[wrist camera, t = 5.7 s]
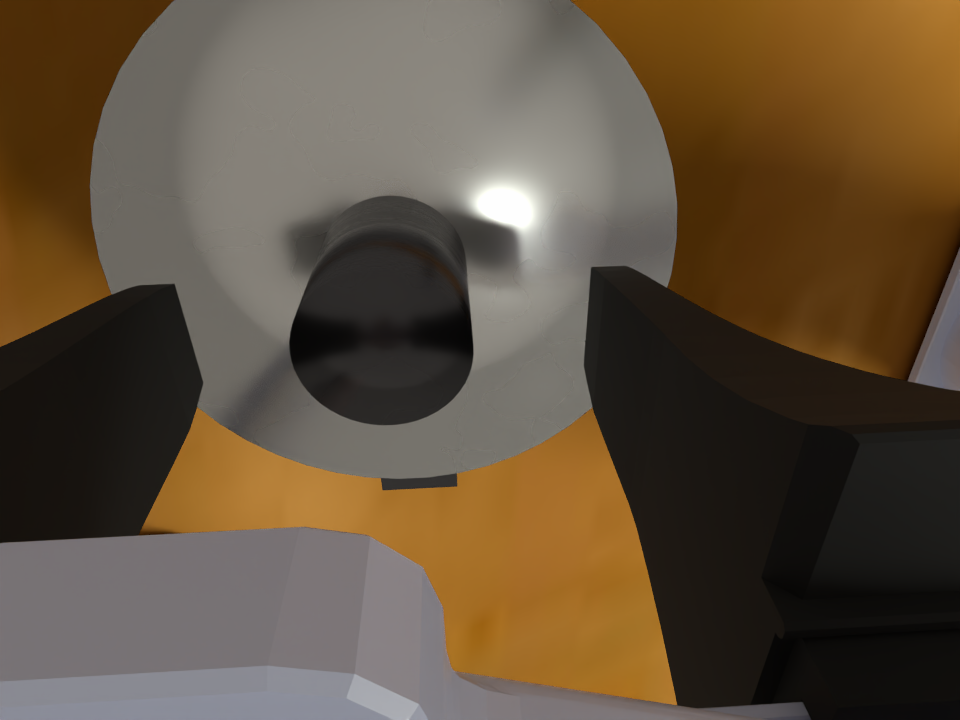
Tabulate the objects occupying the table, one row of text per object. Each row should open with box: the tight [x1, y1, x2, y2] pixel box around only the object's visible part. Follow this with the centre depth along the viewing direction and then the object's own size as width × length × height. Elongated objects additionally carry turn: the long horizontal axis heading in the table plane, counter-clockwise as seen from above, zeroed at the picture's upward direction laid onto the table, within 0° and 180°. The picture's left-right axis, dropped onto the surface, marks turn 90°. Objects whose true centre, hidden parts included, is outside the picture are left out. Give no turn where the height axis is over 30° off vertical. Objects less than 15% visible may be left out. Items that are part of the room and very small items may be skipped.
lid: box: [90, 0, 677, 479], centre depth 12 cm, size 11×11×4 cm
